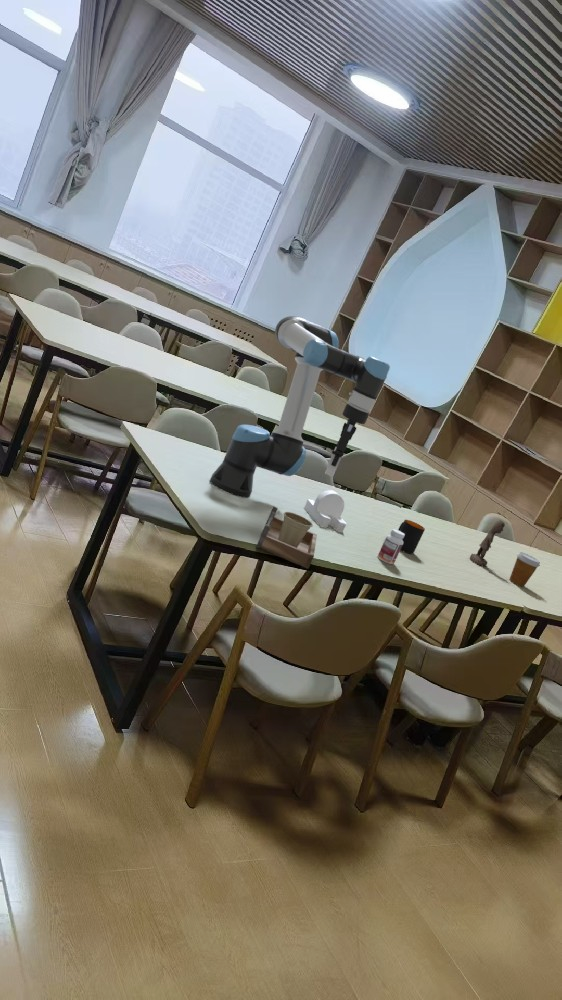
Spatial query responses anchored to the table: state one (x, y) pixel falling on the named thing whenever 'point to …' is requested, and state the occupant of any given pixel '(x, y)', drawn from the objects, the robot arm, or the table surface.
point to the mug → (410, 535)
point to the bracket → (327, 510)
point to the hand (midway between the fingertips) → (329, 471)
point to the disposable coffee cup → (523, 569)
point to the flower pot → (293, 529)
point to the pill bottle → (391, 547)
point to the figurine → (487, 544)
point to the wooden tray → (273, 545)
